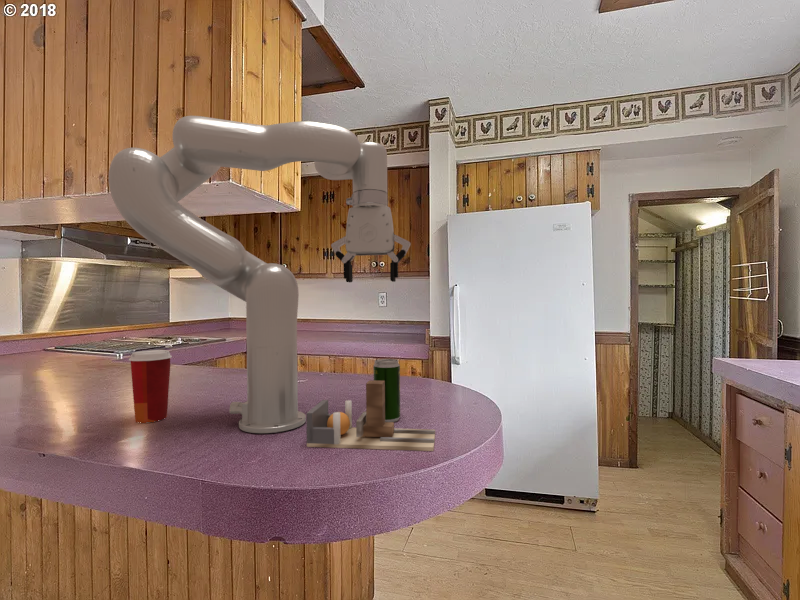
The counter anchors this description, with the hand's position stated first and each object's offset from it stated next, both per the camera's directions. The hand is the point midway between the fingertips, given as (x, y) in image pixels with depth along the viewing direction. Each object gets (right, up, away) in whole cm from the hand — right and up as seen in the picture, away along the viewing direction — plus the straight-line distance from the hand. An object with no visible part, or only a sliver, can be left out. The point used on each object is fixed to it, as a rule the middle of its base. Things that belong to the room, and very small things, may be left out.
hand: (371, 281), depth 88 cm
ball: (-5, -26, -17) cm, 31 cm away
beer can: (+4, -29, -5) cm, 29 cm away
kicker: (+2, -27, -17) cm, 32 cm away
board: (+2, -28, -17) cm, 33 cm away
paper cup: (-45, -29, -4) cm, 54 cm away
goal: (-6, -28, -16) cm, 33 cm away
